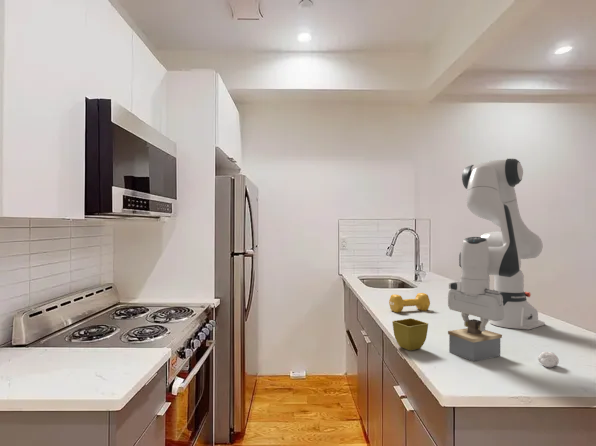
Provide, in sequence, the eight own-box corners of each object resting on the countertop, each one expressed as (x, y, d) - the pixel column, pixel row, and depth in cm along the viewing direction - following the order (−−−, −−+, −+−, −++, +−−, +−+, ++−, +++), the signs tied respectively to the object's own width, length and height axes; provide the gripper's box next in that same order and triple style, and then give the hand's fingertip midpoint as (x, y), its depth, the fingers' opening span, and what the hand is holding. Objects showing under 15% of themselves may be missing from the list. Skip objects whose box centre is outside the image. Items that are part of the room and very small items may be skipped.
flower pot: (409, 353, 139) (409, 326, 139) (391, 346, 146) (391, 320, 146) (428, 349, 143) (429, 323, 143) (410, 343, 151) (410, 318, 150)
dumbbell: (421, 307, 211) (421, 291, 210) (431, 311, 202) (432, 294, 202) (387, 310, 205) (387, 293, 205) (396, 314, 197) (396, 296, 196)
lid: (475, 333, 146) (475, 315, 146) (501, 341, 136) (502, 322, 136) (448, 337, 140) (448, 319, 140) (473, 346, 131) (473, 326, 131)
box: (475, 347, 145) (475, 330, 145) (500, 356, 136) (500, 337, 136) (449, 352, 140) (449, 334, 140) (473, 361, 131) (473, 342, 131)
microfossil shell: (549, 353, 124) (562, 353, 126) (533, 349, 129) (545, 348, 131) (549, 369, 124) (561, 368, 126) (533, 364, 129) (545, 363, 131)
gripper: (509, 291, 130) (509, 335, 130) (458, 281, 149) (458, 321, 149) (494, 292, 127) (494, 338, 128) (444, 283, 146) (444, 322, 146)
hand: (474, 328), depth 138 cm, fingers open, 4 cm apart
